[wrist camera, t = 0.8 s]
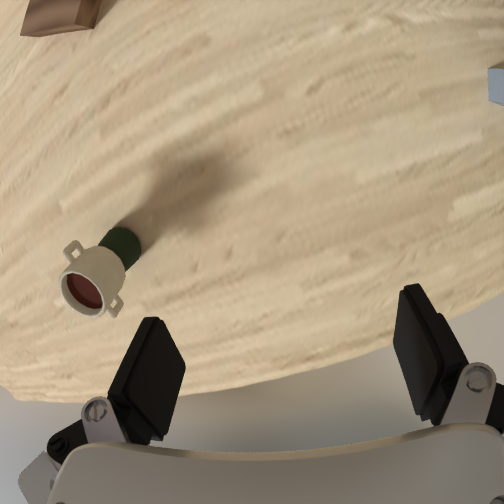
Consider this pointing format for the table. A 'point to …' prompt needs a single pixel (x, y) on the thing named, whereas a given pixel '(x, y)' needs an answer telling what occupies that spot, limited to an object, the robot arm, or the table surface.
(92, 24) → the walnut block
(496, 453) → the robot arm
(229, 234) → the table surface
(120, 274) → the character mug
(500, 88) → the slate cube
